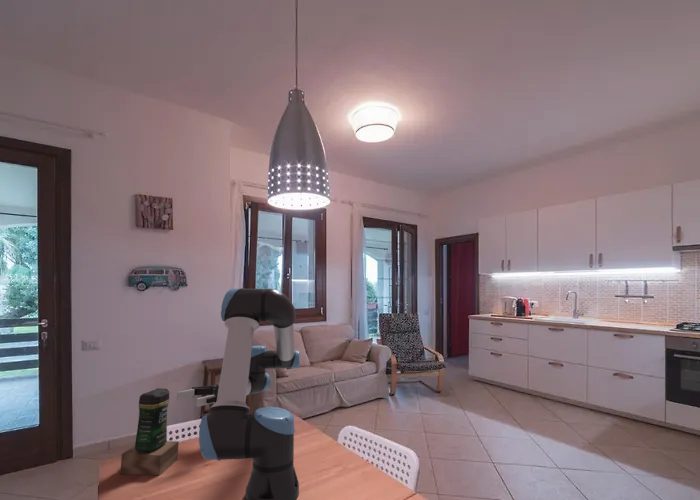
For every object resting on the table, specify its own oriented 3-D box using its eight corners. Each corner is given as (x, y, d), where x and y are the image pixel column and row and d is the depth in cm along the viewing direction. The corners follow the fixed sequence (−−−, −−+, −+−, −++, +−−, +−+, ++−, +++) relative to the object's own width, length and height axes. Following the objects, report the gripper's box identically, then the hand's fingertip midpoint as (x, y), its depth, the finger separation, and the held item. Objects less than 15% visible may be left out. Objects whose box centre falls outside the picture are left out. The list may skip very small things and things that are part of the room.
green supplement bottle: (152, 454, 119) (156, 394, 121) (130, 452, 120) (134, 393, 122) (170, 442, 128) (174, 386, 130) (149, 440, 129) (153, 386, 131)
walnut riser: (177, 459, 128) (178, 441, 129) (159, 475, 117) (160, 455, 118) (141, 458, 129) (142, 440, 129) (120, 473, 118) (121, 454, 119)
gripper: (255, 403, 142) (205, 417, 126) (218, 392, 157) (169, 403, 141) (256, 383, 143) (206, 394, 126) (219, 374, 158) (170, 383, 142)
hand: (186, 399), depth 134 cm, fingers open, 13 cm apart
